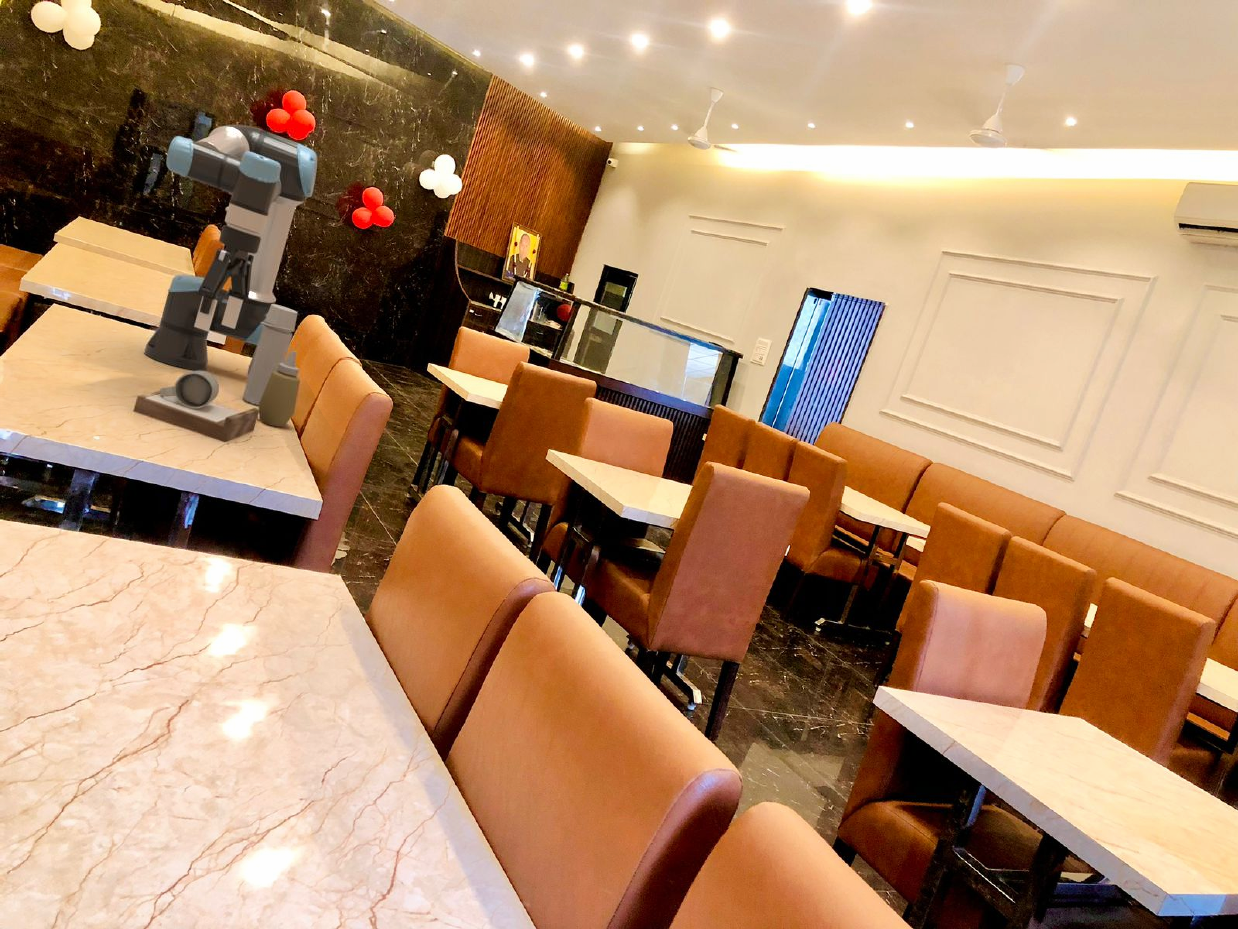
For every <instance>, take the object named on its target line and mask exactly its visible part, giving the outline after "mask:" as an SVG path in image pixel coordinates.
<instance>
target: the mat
mask: <svg viewBox="0 0 1238 929" xmlns="http://www.w3.org/2000/svg"><path fill="white" fill-rule="evenodd" d="M145 399H148V400H151V401H154V402H157V403H160V404H162V405H165V406H168V407H171V408H174V409H177V410H180V411H183V412H186V413H189V414H192V415H195V416H198V417H201V418H204V419H207V420H209V421H212V422H215V423H218V422H221V421H224V420H225V419H226V417H229V416H232V415H235V414H238V413H240V412H241V411H238V412H237V410H236V409H235V410H234V409H232V408H230V407H226V406H224V405H221V404H218V405H217V403H215V404H214V402H212V401H211V402H212V403H211V402H210V403H209V404H208V405H206V406H204V407H202V408H199V409H192V408H188V407H185V406H183V405H182V404H181V403H180V402H179V401H178V400H177V399H176V397H175V396H161V394H158V395H153V396H149V397H145ZM220 405H221V406H220ZM223 406H224V407H223Z"/></svg>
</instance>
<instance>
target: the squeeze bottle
mask: <svg viewBox="0 0 1238 929" xmlns="http://www.w3.org/2000/svg"><path fill="white" fill-rule="evenodd" d="M296 359H297V352H296V351H295V350H290V352H289V354H288V355H287V357H286V358H285V361H284V363H279V365H278V368H277V370H278V371H274V372H272V374H271V376H270V378H269V381H268V383H267V386H266V388H265V390H264V393H263V395H262V398H261V400H260V402H259V406H258V409H259V410H260V411H259V414H258V418H259V420H260V421H261V422H263V423H264V424H267V425H270V426H274V427H280V428H282V427H283V428H284V427H286V425H287V423H288V422H289V421H290V420H291V418H292V417H293V416H294V414H295V410H296V404H297V400H298V393H299V389H300V388H299V387H300V383H301V380H300V378H299V377H298V375H299V371H300V368H299V367H297V366H296Z"/></svg>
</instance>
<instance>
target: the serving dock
mask: <svg viewBox="0 0 1238 929" xmlns="http://www.w3.org/2000/svg"><path fill="white" fill-rule="evenodd" d="M158 394H161V392H160V390H158V391H154V392H150V393H145V394H139V395H137V397H136V401H135V404H134V408H133V412H135V413H138V414H141V415H144V416H147V417H149V418H152V419H156V420H159V421H161V422H165V423H168V424H171V425H173V426H176V427H179V428H182V429H186V430H189V431H192V432H194V433H197V434H199V435H203V436H206V437H209V438H212V439H215V440H217V441H221V442H224V443H226V442H229V441H231V440H233V439H236V438H239V437H241V436H244V435H246V434H249V433H251V432H253V431H255V427H256V424H257V420H258V418H259V411H260V410H259V408H256V407H253V408H250V409H247V410H244V411H237V410H236V411H237V412H240V413H238V414H235V415H232V416H229V417H226V419H225V420H224V421H221V422H218V423H215V422H212V421H209V420H207V419H204V418H201V417H198V416H195V415H192V414H189V413H186V412H183V411H180V410H177V409H174V408H171V407H168V406H165V405H162V404H160V403H157V402H154V401H151V400H148V399H145V397H149V396H153V395H158ZM211 403H214V402H213V401H211ZM214 404H217V403H214ZM217 405H220V406H223V407H225V406H224V405H221V404H217Z"/></svg>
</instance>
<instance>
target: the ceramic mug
mask: <svg viewBox="0 0 1238 929" xmlns="http://www.w3.org/2000/svg"><path fill="white" fill-rule="evenodd" d="M159 391H160V392H161V396H175V397H176V399H177V400H178V401H179V402H180V403H181V404H182V405H183V406H185V407H188V408H192V409H199V408H202V407H204V406H206V405H208V404H209V403H210V402H213V401H214V400H215V399H216V398H217V397H218V394H219V391H220V385H219V381H218V379H217V378H216V377H215V376H214V375H213V374H212V373H210V372H209V371H206V370H194V371H193V370H192V371H189V372H187V373H184V374H181V376H180V377H178V379H177V380H176V381H175V383H174V386H167V387H162V388H160V389H159Z"/></svg>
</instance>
